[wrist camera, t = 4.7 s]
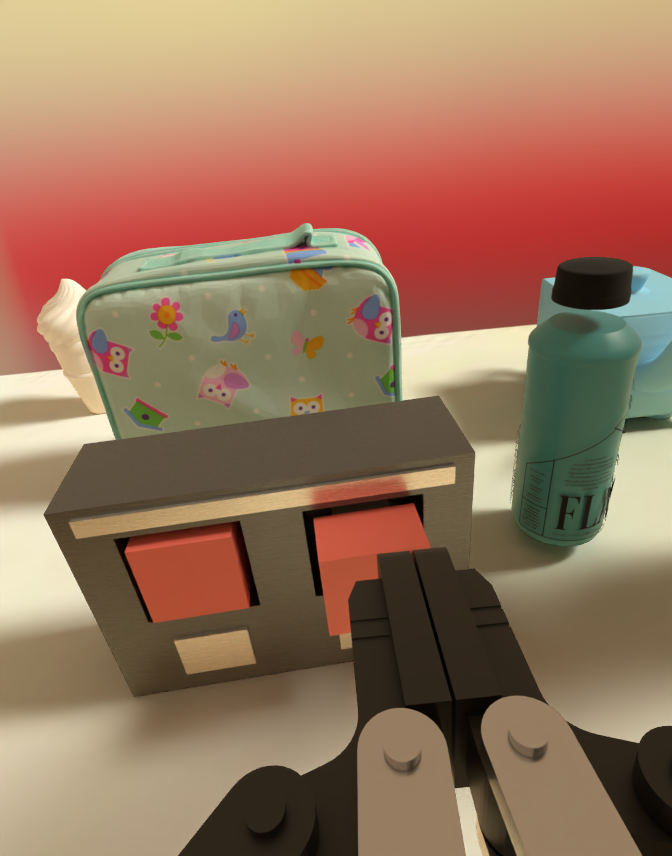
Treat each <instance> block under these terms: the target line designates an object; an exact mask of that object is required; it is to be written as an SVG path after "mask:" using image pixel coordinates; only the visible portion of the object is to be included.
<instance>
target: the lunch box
mask: <svg viewBox="0 0 672 856" xmlns="http://www.w3.org/2000/svg"><path fill="white" fill-rule="evenodd" d="M76 321H77V327H78V331H79V336H80V340H81V343H82V346H83V349H84V351H85V354H86V357H87V360H88V363H89V366H90V368H91V371H92V373H93V376H94V378H95V381H96V384H97V387H98V390H99V393H100V396H101V399H102V402H103V404H104V407H105V410H106V413H107V416H108V419H109V422H110V425H111V427H112V430H113V433H114V436H115V439H116V440H120V439H127V438H134V437H141V436H149V435H156V434H163V433H171V432H178V431H185V430H193V429H200V428H207V427H214V426H222V425H229V424H236V423H244V422H251V421H258V420H266V419H273V418H280V417H287V416H295V415H302V414H309V413H317V412H324V411H331V410H339V409H346V408H353V407H360V406H368V405H375V404H382V403H390V402H397V401H402V359H401V327H400V308H399V297H398V291H397V286H396V284H395V281H394V279H393V277H392V275H391V274H390V272H389V271H388V270H387V268H386V267H385V266H384V265H383V264H382V260H381V258H380V255H379V253H378V251H377V249H376V248H375V246H374V245H373V244H372V243H371V242H370V241H369V240H368V239H367V238H366V237H364V236H362V235H361V234H359V233H356V232H353V231H349V230H346V229H337V228H330V229H329V228H325V229H312V226H311V225H310V224H309V223H305V224H303V225H301V226H300V227H298V228H297V229H296V230H294V231H293V232H291V233H285V234H279V235H273V236H267V237H260V238H252V239H244V240H236V241H226V242H216V243H207V244H198V245H189V246H175V247H160V248H150V249H144V250H139V251H136V252H133V253H130V254H128V255H125V256H123V257H121V258H119V259H118V260H116V261H115V262H114V263H112V264H111V265H110V266H109V267H107V268H106V270H105V271H104V273H103V274H102V276H101V280H100V281H99V282H98V283H97V284H95V285H93V286H92V287H90V288H89V289H88V290H87V291H86V292H85V293H84V294H83V295H82V297H81V298H80V300H79V302H78V305H77V309H76Z"/></svg>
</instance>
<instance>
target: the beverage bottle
mask: <svg viewBox="0 0 672 856" xmlns="http://www.w3.org/2000/svg"><path fill="white" fill-rule="evenodd" d="M632 276H633V266H632V264H630V263H628V262H627V261H623V260H620V259H614V258H606V257H585V258H577V259H571V260H567V261H565V262H562V263H561V264H559V266H558V268H557V273H556V278H555V283H554V286H553V288H552V295H551V299H552V301H553V302H555V303H556V304H559V305H561V306H565V307H569V308H574V309H583V310H572V311H565V312H561V313H557V314H555V315H553V316H551V317H550V318H548V319H547V320H546V321H544V322H543V323H541V324H540V325H539V326H537V327H536V328H535V329H534V330H533V331H532V332H531V333H530V335H529V339H528V345H529V350H528V360H527V370H526V380H525V390H524V400H523V410H522V420H521V430H520V435H519V441H518V440H517V441H518V443H517V442H516V443H517V444H518V450H517V449H515V452H516V450H517V456H516V457H517V461H516V462H514V463H516V470H514V467H513V470H514V471H515V476H514V475H513V476H514V477H515V480H513V481H514V482H512V483H514V485H513V484H512V485H513V486H514V488H513V495H512V496H513V499H512V513H513V517H514V520H515V522H516V524H517V525H518V526H519V528H520V529H521V530H522V531H524V532H525V533H526V534H527V535H529V536H531V537H532V538H534V539H536V540H539V541H541V542H544V543H547V544H551V545H556V546H577V545H581V544H584V543H586V542H588V541H590V540H592V539H593V538H594V537H595V536H596V535H597V533H598V531H599V530H600V528H601V526H602V524H603V523H602V522H603V518H604V513H605V510H606V513H605V517H607V510H608V504H609V497H611V492H612V488H613V485H614V482H613V473H614V472H615V471H614V468H615V464H616V461H618V459H617V456H618V450H619V446H620V441H621V437H622V433H625V431H623V427H624V423H625V424H626V422H627V421H628V420H626V422H625V419H626V414H627V413H628V412H627V409H628V405H629V407H630V408H631V406H630V405H631V404H632V403H631V404H630V403H629V401H632V399H630V396H631V390H632V383H633V381H634V374H635V369H636V364H637V359H638V355H639V353H640V351H641V348H642V341H641V338H640V337H639V335H638V334H637V333H636V331H635V330H634V329H633V328H632V327H631V326H630V325H629V324H628V323H627V322H626V321H625V320H624V319H622V318H621V317H619V316H616V315H613V314H610V313H606V312H600V311H591V310H606V309H614V308H618V307H622V306H624V305H626V304H628V303H629V302H630V298H631V292H632V289H631V284H632ZM633 396H634V395H633ZM631 397H632V396H631ZM630 408H629V409H630ZM628 411H629V410H628ZM628 416H629V415H628ZM518 431H519V430H518ZM517 434H518V433H517ZM516 439H517V438H516ZM516 446H517V445H516ZM515 454H516V453H515ZM618 457H619V456H618ZM514 461H515V459H514ZM514 465H515V464H514ZM617 465H618V464H617ZM513 473H514V472H513ZM512 479H513V478H512ZM614 481H615V479H614ZM611 482H612V483H613V484H612V487H611ZM511 490H512V487H511ZM511 494H512V493H511ZM510 498H511V497H510ZM510 500H511V499H510ZM606 504H607V505H606ZM605 521H606V520H605ZM603 527H604V526H603ZM600 531H601V530H600ZM600 531H599V532H600Z"/></svg>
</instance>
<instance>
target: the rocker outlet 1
mask: <svg viewBox="0 0 672 856" xmlns="http://www.w3.org/2000/svg"><path fill="white" fill-rule="evenodd" d="M125 555H126V557H127V560H128V562H129V564H130V567H131V569H132V572H133V574H134V577H135V579H136V581H137V584H138V586H139V589H140V591H141V594H142V596H143V598H144V601H145V603H146V606H147V608H148V611H149V613H150V615H151V618H152V620H153V623H157V622H163V621H169V620H176V619H182V618H189V617H195V616H201V615H208V614H214V613H221V612H227V611H233V610H240V609H246V608H249V606H250V579H251V564H250V560H249V556H248V552H247V548H246V544H245V540H244V536H243V532H242V528H241V524H240V521H234V522H227V523H220V524H214V525H207V526H200V527H193V528H186V529H180V530H173V531H166V532H159V533H152V534H146V535H139V536H132V537H130V538H129V541H128V544H127V547H126V550H125Z"/></svg>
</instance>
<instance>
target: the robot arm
mask: <svg viewBox="0 0 672 856" xmlns="http://www.w3.org/2000/svg"><path fill="white" fill-rule="evenodd" d="M377 568H378V579H371V580H361V581H356V582H355V585H354V587H353V589H352V592H351V594H350V596H349V599H348V606H349V617H350V628H351V638H352V649H353V660H354V670H355V681H356V692H357V703H358V724H357V728H356V731H355V734H354V736H353V738H352V740H351V742H350V743H349V745H348V746H347V747H346V749H345V750H344V751H343V752H342V753H341V754H340V755H338V756H337V757H336V758H335V759H333V760H332V761H330V762H328V763H326V764H325V765H323V766H320V767H318V768H316V769H314V770H312V771H310V772H308V773H306V774H304V775H302V776H301V775H299V774H298V773H297V772H295V771H294V770H292V769H290V768H287V767H284V766H266V767H261V768H258V769H256V770H254V771H252V772H250V773H248V774H247V775H245V776H244V777H243V778H241V779H240V780H239V781H238V782H237V783H236V784H235V785H234V786H233V787H232V789H231V790H230V791H229V792H228V794H227V795H226V796H225V797H224V799H223V800H222V801H221V802H220V804H219V805H218V806H217V807H216V809H215V810H214V811H213V813H212V814H211V815H210V816H209V818H208V819H207V820H206V821H205V823H204V824H203V825H202V826H201V828H200V829H199V830H198V831H197V833H196V834H195V835H194V836H193V838H192V839H191V840H190V841H189V843H188V844H187V845H186V846H185V848H184V849H183V850H182V851H181V853H180V854H179V855H178V856H466V854H465V848H464V842H463V836H462V830H461V824H460V818H459V812H458V806H457V800H456V795H455V789H454V788H462V787H470V790H471V794H472V797H473V801H474V805H475V809H476V813H477V821H476V831H477V838H478V842H479V845H480V848H481V851H482V854H483V856H672V726H662V727H657V728H654V729H652V730H650V731H649V732H647V733H646V734H645V735H644V736H643V737H642V739H641V741H640V743H635V742H630V741H625V740H621V739H616V738H611V737H606V736H602V735H597V734H593V733H590V732H587V731H584V730H582V729H579V728H578V727H576V726H574V725H572V724H570V723H569V722H567V721H566V720H565V719H564V718H563V717H562V716H561V715H560V714H559V713H558V712H557V711H555V710H554V709H553V708H552V707H550V706H549V705H548V704H547V702H546V701H545V699H544V698H543V696H542V694H541V693H540V691H539V688H538V686H537V684H536V682H535V680H534V677H533V675H532V673H531V671H530V669H529V666H528V664H527V662H526V660H525V657H524V655H523V653H522V651H521V649H520V646H519V644H518V642H517V640H516V638H515V635H514V633H513V631H512V629H511V627H509V623H508V620H507V618H506V615H505V613H504V611H503V609H501V604H500V602H499V600H498V598H497V596H496V593H495V591H494V589H493V587H492V585H491V584H490V583H489V582H488V581H487V580H486V579H485V578H484V577H483V576H482V575H481V574H479V573H478V572H477V571H476V570H475V569H465V570H455V568H454V565H453V563H452V560H451V557H450V555H449V552H448V550H447V548H446V547H438V548H428V549H419V550H412V553H411V552H410V551H401V552H392V553H382V554H377Z"/></svg>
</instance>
